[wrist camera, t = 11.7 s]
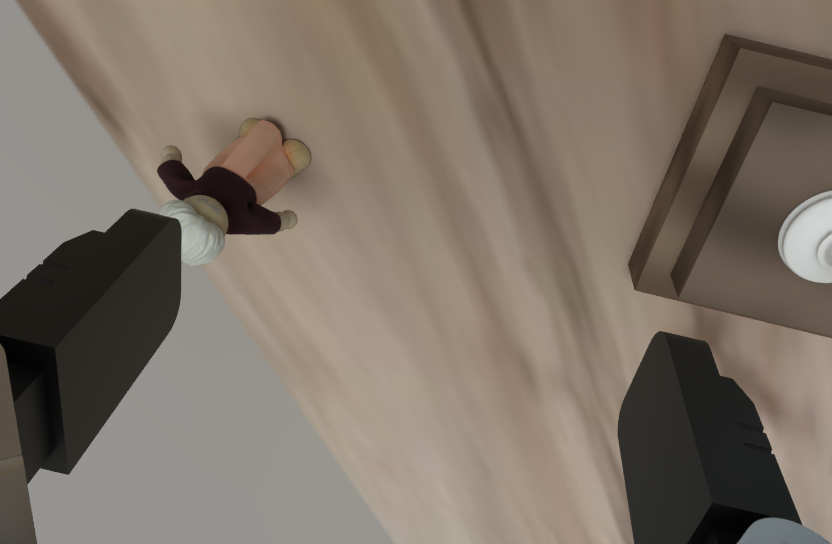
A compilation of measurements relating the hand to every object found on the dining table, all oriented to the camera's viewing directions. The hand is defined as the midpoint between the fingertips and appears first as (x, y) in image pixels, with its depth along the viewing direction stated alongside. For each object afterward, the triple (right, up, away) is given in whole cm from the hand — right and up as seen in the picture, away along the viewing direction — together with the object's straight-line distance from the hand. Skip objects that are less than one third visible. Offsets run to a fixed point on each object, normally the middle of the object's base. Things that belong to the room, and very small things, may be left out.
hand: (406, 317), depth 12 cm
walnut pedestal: (+21, +5, +28) cm, 36 cm away
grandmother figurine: (-9, +8, +31) cm, 33 cm away
